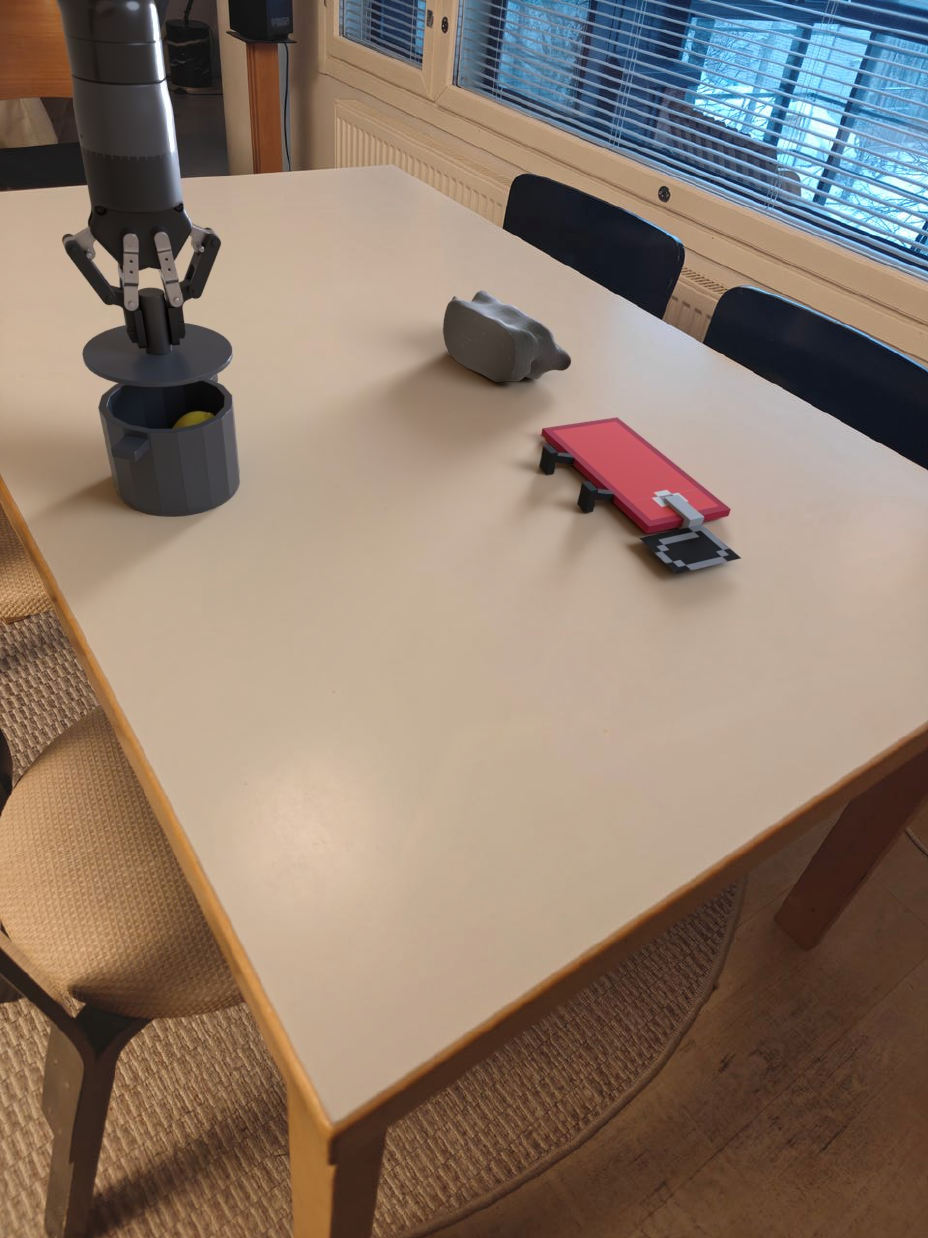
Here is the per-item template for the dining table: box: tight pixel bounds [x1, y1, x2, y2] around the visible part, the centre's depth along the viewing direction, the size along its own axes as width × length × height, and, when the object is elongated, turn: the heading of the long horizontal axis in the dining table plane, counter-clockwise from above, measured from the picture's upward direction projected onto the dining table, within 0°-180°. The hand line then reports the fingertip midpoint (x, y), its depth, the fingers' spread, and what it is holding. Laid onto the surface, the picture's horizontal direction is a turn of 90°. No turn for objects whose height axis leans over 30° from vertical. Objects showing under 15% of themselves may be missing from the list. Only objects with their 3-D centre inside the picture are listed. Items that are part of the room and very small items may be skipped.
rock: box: [442, 290, 572, 383], centre depth 119 cm, size 18×11×8 cm, turn 40°
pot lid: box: [81, 287, 234, 387], centre depth 80 cm, size 14×14×7 cm
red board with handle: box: [538, 416, 742, 575], centre depth 97 cm, size 30×3×15 cm
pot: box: [97, 374, 241, 517], centre depth 89 cm, size 13×18×10 cm
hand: (158, 342), depth 81 cm, fingers closed on pot lid, 2 cm apart
